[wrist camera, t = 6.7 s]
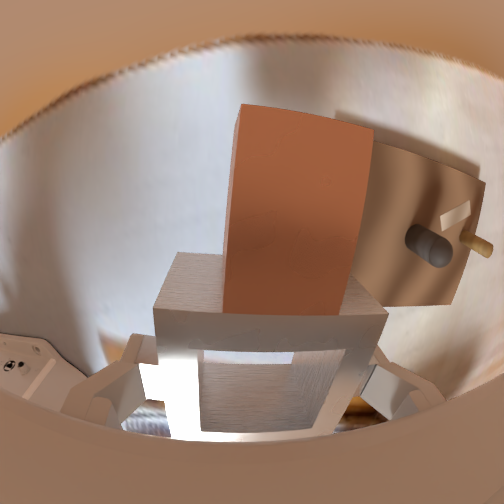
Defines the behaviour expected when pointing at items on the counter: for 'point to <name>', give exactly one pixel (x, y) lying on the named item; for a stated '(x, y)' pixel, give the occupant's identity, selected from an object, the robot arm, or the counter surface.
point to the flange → (274, 288)
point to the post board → (400, 209)
